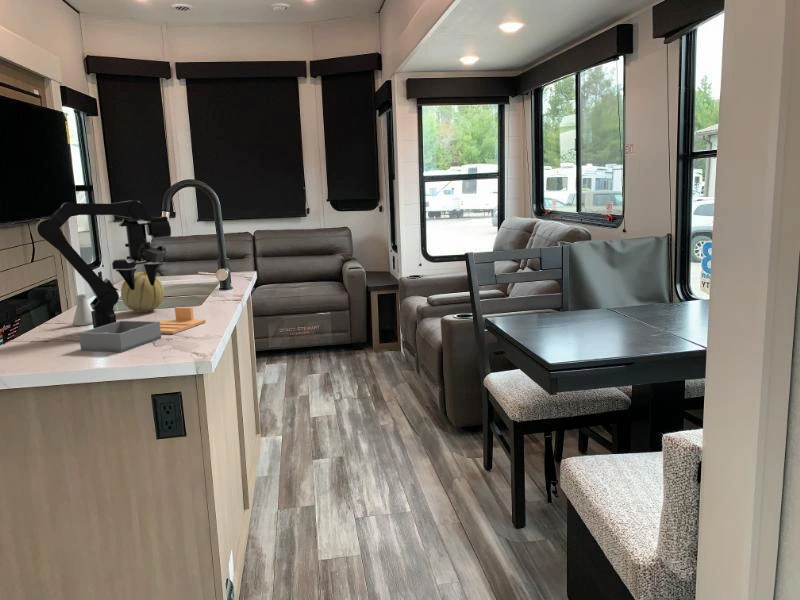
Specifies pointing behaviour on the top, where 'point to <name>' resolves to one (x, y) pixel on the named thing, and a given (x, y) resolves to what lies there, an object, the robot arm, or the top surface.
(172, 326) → the lid
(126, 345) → the tub
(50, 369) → the top surface
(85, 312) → the flask
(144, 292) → the cantaloupe
